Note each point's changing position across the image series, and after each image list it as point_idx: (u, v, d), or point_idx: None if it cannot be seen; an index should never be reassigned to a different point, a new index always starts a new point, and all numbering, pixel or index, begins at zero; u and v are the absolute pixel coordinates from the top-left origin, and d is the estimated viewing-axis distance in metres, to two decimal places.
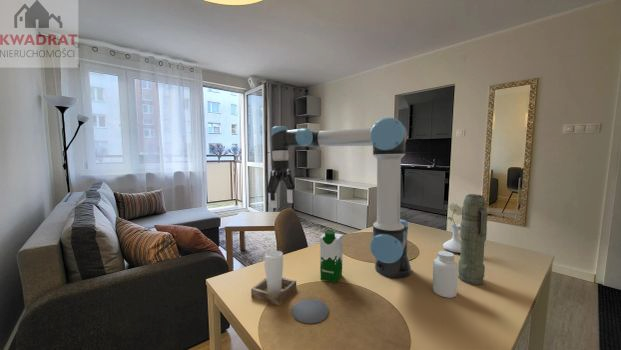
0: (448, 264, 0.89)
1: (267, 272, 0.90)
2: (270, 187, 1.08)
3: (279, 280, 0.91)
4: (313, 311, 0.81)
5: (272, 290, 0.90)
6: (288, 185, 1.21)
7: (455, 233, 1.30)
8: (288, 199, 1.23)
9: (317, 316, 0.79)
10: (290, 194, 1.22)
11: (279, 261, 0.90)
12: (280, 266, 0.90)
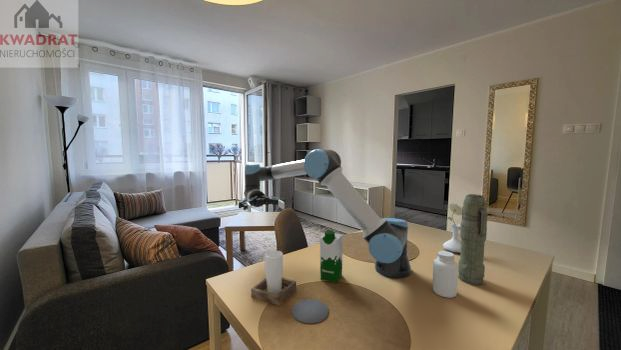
0: (448, 264, 0.89)
1: (267, 272, 0.90)
2: None
3: (279, 280, 0.91)
4: (313, 311, 0.81)
5: (272, 290, 0.90)
6: (275, 201, 1.09)
7: (455, 233, 1.30)
8: (281, 206, 1.03)
9: (317, 316, 0.79)
10: (279, 202, 1.05)
11: (279, 261, 0.90)
12: (280, 266, 0.90)
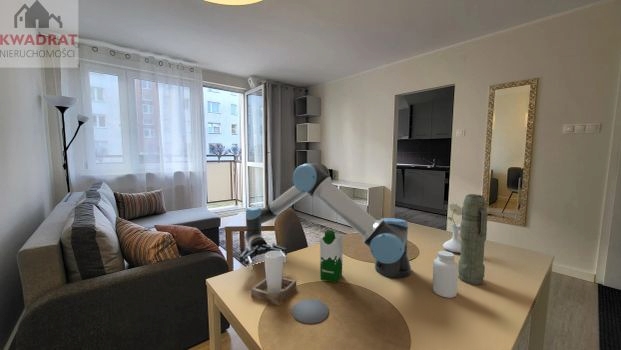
0: (448, 264, 0.89)
1: (267, 272, 0.90)
2: None
3: (279, 280, 0.91)
4: (313, 311, 0.81)
5: (272, 290, 0.90)
6: None
7: (455, 233, 1.30)
8: None
9: (317, 316, 0.79)
10: None
11: (279, 261, 0.90)
12: (280, 266, 0.90)
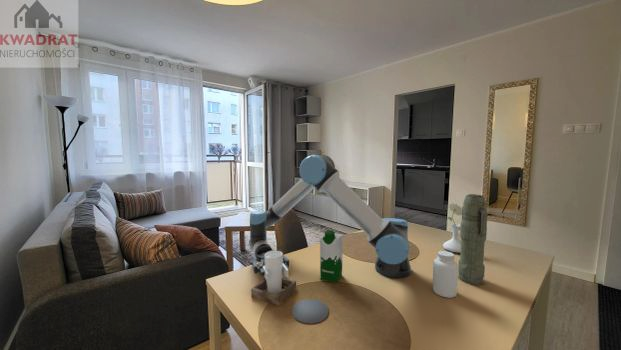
0: (448, 264, 0.89)
1: None
2: (253, 267, 0.93)
3: (279, 280, 0.91)
4: (313, 311, 0.81)
5: (272, 290, 0.90)
6: None
7: (455, 233, 1.30)
8: (284, 273, 0.90)
9: (317, 316, 0.79)
10: None
11: (279, 261, 0.89)
12: (280, 266, 0.90)
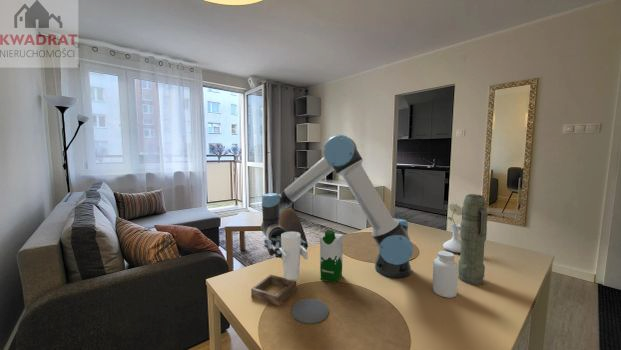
0: (448, 264, 0.89)
1: None
2: (269, 249, 0.86)
3: (297, 263, 0.83)
4: (313, 311, 0.81)
5: (290, 273, 0.83)
6: None
7: (455, 233, 1.30)
8: (303, 255, 0.83)
9: (317, 316, 0.79)
10: None
11: (297, 242, 0.82)
12: (298, 247, 0.82)
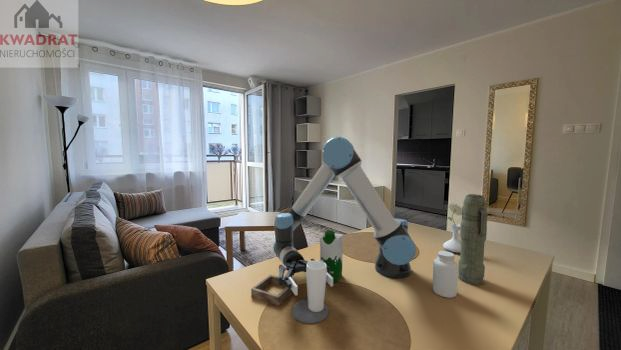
0: (448, 264, 0.89)
1: (310, 286, 0.79)
2: (278, 277, 0.83)
3: (323, 294, 0.80)
4: None
5: (315, 305, 0.80)
6: None
7: (455, 233, 1.30)
8: (328, 281, 0.81)
9: (317, 316, 0.79)
10: None
11: (324, 273, 0.79)
12: (324, 279, 0.80)
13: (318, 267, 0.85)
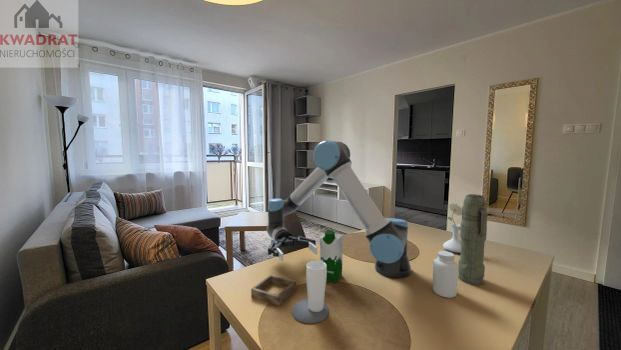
0: (448, 264, 0.89)
1: (310, 286, 0.79)
2: None
3: (323, 294, 0.80)
4: None
5: (315, 306, 0.80)
6: (304, 243, 1.03)
7: (455, 233, 1.30)
8: (313, 251, 0.97)
9: (317, 316, 0.79)
10: (310, 245, 0.99)
11: (324, 273, 0.79)
12: (325, 279, 0.80)
13: (318, 267, 0.85)
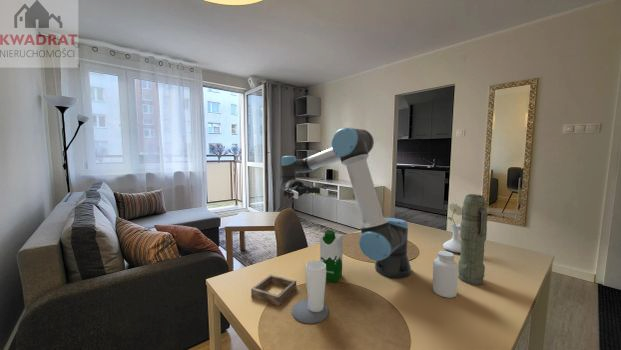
0: (448, 264, 0.89)
1: (310, 286, 0.79)
2: None
3: (323, 294, 0.80)
4: None
5: (315, 306, 0.80)
6: (316, 190, 1.13)
7: (455, 233, 1.30)
8: (324, 194, 1.07)
9: (317, 316, 0.79)
10: (322, 190, 1.09)
11: (323, 273, 0.79)
12: (324, 279, 0.80)
13: (317, 267, 0.85)
